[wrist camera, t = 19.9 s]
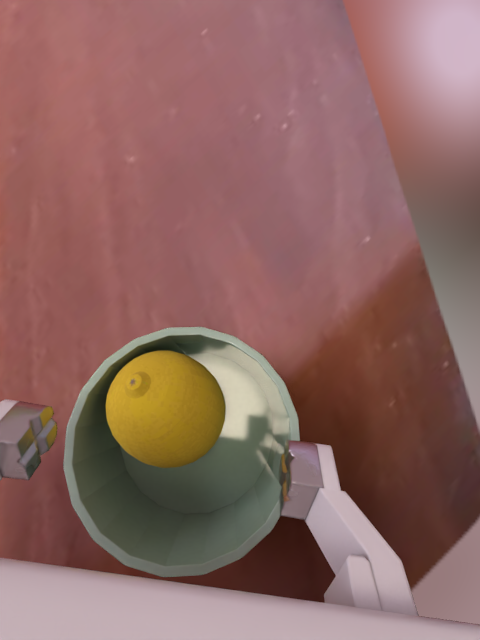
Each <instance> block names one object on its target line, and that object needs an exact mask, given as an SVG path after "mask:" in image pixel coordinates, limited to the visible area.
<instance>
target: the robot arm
mask: <svg viewBox="0 0 480 640" xmlns="http://www.w3.org/2000/svg"><path fill="white" fill-rule="evenodd" d="M53 414H54V412H53V409H52V407H50V406H45V405H39V404H33V403H27V402H21V401H14V400H8V399H5V400H3V401H1V402H0V480H1V479H2V477H4V478H13V479H22V480H29V479H30V477H31V476H32V475H33V473H34V472H35V470H36V469H37V467H38V466H39V464H40V463H41V457H40V455H42V454H44V453H45V452H47V451H49V449H50V448H51V446H52V445H53V443H54V441H55V438H56V435H57V424H56V422H55V421H54V420H53V419H52V418H51V417H52V416H53ZM279 484H280V485H281V487H282V488H281V492H280V495H279V502H280V516H285V517H291V518H297V519H303V520H306V521H305V522H306V524H307V525H308V527H309V529H310V531H311V533H312V534H313V536H314V538H315V540H316V541H317V543H318V545H319V547H320V549H321V550H322V552H323V554H324V556H325V558H326V559H327V561H328V563H329V565H330V566H331V568H332V570H333V572H334V574H335V575H336V577H335V578H334V580H333V581H332V583H331V585H330V586H329V588H328V589H327V591H326V592H325V594H324V600H325V603H322V602H315V601H308V600H300V599H293V598H286V597H279V596H272V595H265V594H258V593H250V592H243V591H236V590H229V589H222V588H215V587H208V586H200V585H193V584H186V583H179V582H172V581H165V580H157V579H150V578H143V577H136V576H129V575H122V574H115V573H107V572H100V571H93V570H86V569H79V568H72V567H65V566H57V565H50V564H43V563H36V562H29V561H22V560H14V559H7V558H0V640H480V625H479V624H472V623H465V622H458V621H451V620H443V619H436V618H429V617H422V616H419V615H418V612H417V609H416V606H415V603H414V599H413V596H412V593H411V590H410V586H409V583H408V580H407V577H406V574H405V570H404V567H403V564H402V561H401V559H400V558H399V557H398V556H397V555H396V553H395V552H394V551H393V550H392V548H391V547H390V546H389V545H388V543H387V542H386V541H385V540H384V538H383V537H382V536H381V535H380V534H379V532H378V531H377V530H376V529H375V527H374V526H373V525H372V524H371V522H370V521H369V520H368V519H367V517H366V516H365V515H364V514H363V513H362V511H361V510H360V509H359V508H358V506H357V505H356V504H355V503H354V501H353V500H352V499H351V498H350V496H349V495H348V494H347V493H346V492H345V491H341V488H340V484H339V479H338V474H337V469H336V465H335V460H334V455H333V451H332V448H331V446H330V445H323V444H315V443H311V442H303V441H295V440H286V442H285V445H284V453H283V454H282V455H281V459H280V464H279Z"/></svg>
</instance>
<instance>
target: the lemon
mask: <svg viewBox="0 0 480 640" xmlns="http://www.w3.org/2000/svg"><path fill="white" fill-rule="evenodd" d="M106 417H107V422H108V425H109V427H110V430H111V432H112V435H113V436H114V438H115V439H116V440H117V442H118V443H119V444H120V445H121V446H122V448H123V449H124V450H125V451H126V452H127V453H128V454H130V455H131V456H133V457H134V458H136V459H138V460H139V461H141V462H143V463H145V464H148V465H152V466H156V467H160V468H173V467H181V466H184V465H187V464H190V463H193V462H195V461H196V460H198V459H199V458H201V457H202V456H204V455H205V454H206V453H207V452H208V451H209V450H210V449H211V448H212V447H213V446H214V445H215V443H216V441H217V439H218V438H219V436H220V434H221V432H222V428H223V425H224V422H225V403H224V397H223V393H222V391H221V388H220V386H219V384H218V382H217V380H216V379H215V377H214V376H213V375H212V374H211V373H210V372H209V370H208V369H207V368H206V367H205V366H204V365H202V364H201V363H199V362H198V361H196V360H194V359H193V358H191V357H189V356H187V355H185V354H182V353H178V352H174V351H168V350H157V351H153V352H149V353H145V354H142V355H140V356H138V357H136V358H134V359H133V360H131V361H130V362H129V363H127V364H126V365H125V366H124V367H123V368H122V369H121V370H120V371H119V372H118V374H117V375H116V377H115V378H114V380H113V382H112V383H111V385H110V388H109V391H108V394H107V399H106Z"/></svg>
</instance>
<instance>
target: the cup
mask: <svg viewBox="0 0 480 640" xmlns="http://www.w3.org/2000/svg"><path fill="white" fill-rule="evenodd" d="M157 350H168V351H174V352H178V353H182V354H185V355H187V356H189V357H191V358H193V359H194V360H196V361H198V362H199V363H201V364H202V365H204V366H205V367H206V368H207V369H208V370H209V372H210V373H211V374H212V375H213V376H214V377H215V379H216V380H217V382H218V384H219V386H220V388H221V391H222V393H223V397H224V403H225V422H224V425H223V428H222V432H221V434H220V436H219V438H218V439H217V441H216V443H215V445H214V446H213V447H212V448H211V449H210V450H209V451H208V452H207V453H206V454H205V455H204V456H202V457H201V458H199V459H198V460H196V461H195V462H193V463H190V464H187V465H184V466H181V467H173V468H160V467H156V466H152V465H148V464H145V463H143V462H141V461H139V460H138V459H136V458H134V457H133V456H131V455H130V454H128V453H127V452H126V451H125V450H124V449H123V448H122V446H121V445H120V444H119V443H118V442H117V440H116V439H115V438H114V436H113V435H112V432H111V430H110V427H109V425H108V422H107V417H106V399H107V394H108V391H109V388H110V385H111V383H112V382H113V380H114V378H115V377H116V375H117V374H118V372H119V371H120V370H121V369H122V368H123V367H124V366H125V365H126V364H127V363H129V362H130V361H131V360H133V359H134V358H136V357H138V356H140V355H142V354H145V353H149V352H153V351H157ZM286 440H295V441H300V435H299V422H298V415H297V413H296V410H295V408H294V405H293V403H292V400H291V398H290V395H289V392H288V390H287V387H286V385H285V383H284V381H283V380H282V379H281V377H280V376H279V375H278V374H277V372H276V371H275V370H274V369H273V367H272V366H271V365H270V364H269V362H268V361H267V360H266V359H265V357H264V356H262V354H260V353H259V352H257V351H256V350H254V349H253V348H251V347H250V346H248V345H247V344H245V343H244V342H242V341H241V340H239V339H238V338H236V337H234V336H232V335H228V334H225V333H221V332H218V331H214V330H211V329H207V328H204V327H202V328H201V327H179V328H168V329H167V328H165V329H163V330H160V331H157V332H154V333H151V334H148V335H145V336H142V337H139V338H136V339H135V340H132V341H131V342H129V343H128V344H127V345H125V346H124V347H122V348H121V349H120V350H118V351H117V352H116V353H114V354H113V355H111V356H110V357H109V358H107V359H106V360H105V361H104V362H103V363H102V364H101V365H100V367H99V368H98V369H97V371H96V372H95V373H94V374H93V376H92V377H91V378H90V380H89V381H88V382H87V383H86V385H85V386H84V387H83V388H82V391H81V392H80V394H79V397H78V399H77V402H76V404H75V407H74V409H73V412H72V414H71V417H70V420H69V422H68V425H67V428H66V440H65V452H64V463H63V466H64V467H63V468H64V472H65V477H66V481H67V486H68V490H69V494H70V499H71V503H72V505H73V508H74V510H75V511H76V513H77V515H78V516H79V518H80V520H81V521H82V523H83V525H84V526H85V528H86V529H87V531H88V533H89V534H90V536H91V538H92V539H93V540H94V541H95V542H96V543H97V544H98V545H100V546H101V547H102V548H104V549H105V550H106V551H107V552H109V553H110V554H111V555H112V556H114V557H115V558H116V559H117V560H119V561H120V562H121V563H122V564H124V565H126V566H129V567H132V568H135V569H138V570H141V571H145V572H148V573H151V574H154V575H157V576H160V577H163V576H164V577H177V576H193V575H203V574H207V573H209V572H211V571H214V570H216V569H218V568H221V567H223V566H225V565H227V564H230V563H232V562H234V561H237V560H239V559H241V558H242V557H244V556H245V555H246V554H247V553H248V552H249V551H250V550H251V549H252V548H253V547H254V546H256V545H257V544H258V543H259V542H260V541H261V540H262V539H263V538H264V537H265V536H266V535H268V534H269V533H270V532H271V531H272V529H273V528H274V526H275V524H276V523H277V521H278V519H279V517H280V502H279V495H280V492H281V488H282V487H281V485H280V484H279V464H280V459H281V455H282V454H283V453H284V445H285V442H286Z"/></svg>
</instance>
